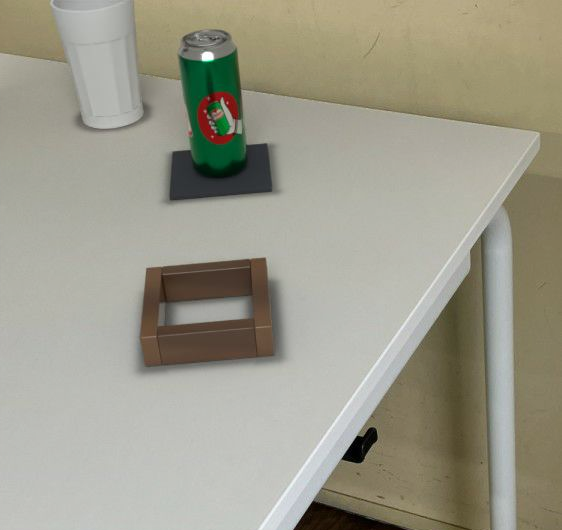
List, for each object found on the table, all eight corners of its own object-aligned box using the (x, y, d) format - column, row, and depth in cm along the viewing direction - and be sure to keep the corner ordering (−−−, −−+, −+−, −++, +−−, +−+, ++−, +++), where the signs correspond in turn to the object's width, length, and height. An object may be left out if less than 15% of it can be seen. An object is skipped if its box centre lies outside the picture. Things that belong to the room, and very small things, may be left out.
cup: (119, 137, 99) (96, 15, 92) (58, 124, 103) (32, 5, 96) (167, 106, 105) (149, -11, 97) (107, 95, 108) (86, -20, 101)
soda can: (207, 153, 94) (191, 25, 87) (257, 158, 93) (245, 29, 85) (184, 177, 91) (165, 46, 83) (235, 184, 89) (221, 51, 82)
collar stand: (151, 295, 77) (146, 267, 75) (268, 284, 77) (266, 256, 75) (145, 367, 70) (139, 337, 68) (274, 355, 70) (271, 326, 68)
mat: (173, 155, 96) (172, 151, 95) (267, 146, 96) (267, 142, 95) (170, 200, 89) (169, 196, 88) (272, 191, 89) (271, 187, 88)
